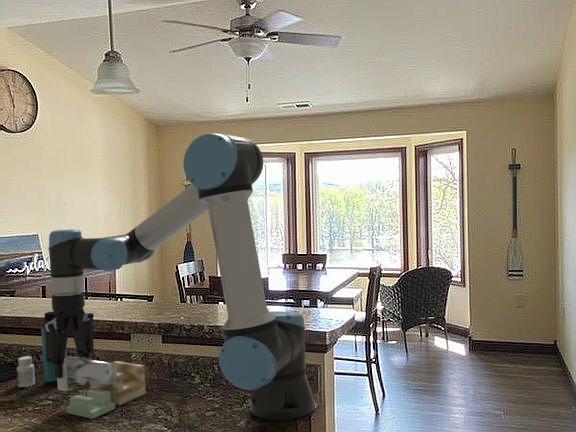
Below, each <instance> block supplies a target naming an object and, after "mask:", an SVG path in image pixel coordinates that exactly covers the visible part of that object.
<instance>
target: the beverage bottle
mask: <svg viewBox="0 0 576 432" xmlns="http://www.w3.org/2000/svg"><path fill="white" fill-rule="evenodd" d="M53 316H54V311H53V310H52V311H48V312H45V313H44V318H43V320H44V321H45V322H50V321H52V320H53ZM56 327H57V326H56ZM55 330H57V329H55ZM62 332H63V331H62ZM40 333H41V348H42V351H41V352H42V360H41V361H42V370H43V373H42V375H43V378H44V380H45V381H48V382H55V381H56V382H57V378H56V377H55V367H54V364H49V363H47V362H46V337H45V331H44V328H43V326H42V327H41V329H40ZM66 357H68V355H67V350H66V351H65V358H66Z"/></svg>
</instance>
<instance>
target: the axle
mask: <svg viewBox="0 0 576 432" xmlns="http://www.w3.org/2000/svg"><path fill="white" fill-rule="evenodd" d="M64 363H65V364H67V379H68V378H70V379H73V380H74V379H75V380H76V379H79V380H84V381H86V382H89V383H90V382H94V383H99V384H105V385H109V384H111V383H112V382H113V381H114V380H115V378H116V375H117V369H116V366H115V365H114V364H113V363H112V362H106V361H100V360H96V359H95V360H94V359H89V358H87V359H84V358H78V357H77V356H71V355H70V356H69V355H67V357H66V358H64Z"/></svg>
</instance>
